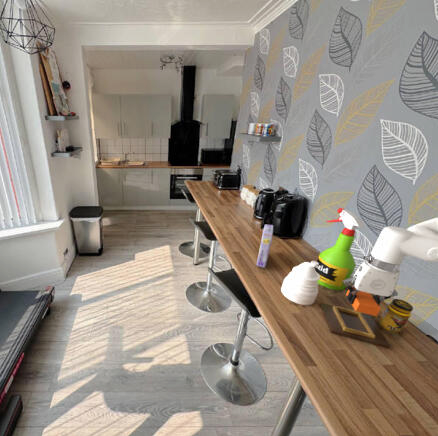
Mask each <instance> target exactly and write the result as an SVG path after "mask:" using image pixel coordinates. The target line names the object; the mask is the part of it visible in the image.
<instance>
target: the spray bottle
mask: <svg viewBox="0 0 438 436" xmlns="http://www.w3.org/2000/svg"><path fill="white" fill-rule="evenodd" d="M337 213H338V214H339V217H338V218H337V219H336V218H335V219H332V220H326V221H325V222H326V223H342V224H343V225H344V228H343V229H342V231H341V232H340V233H339V234H338V237H337V239H336V241H335V243H334V245H333V246H331V247H328V248H326V249H324V250H323V251H321V252H320V253H319V255H318V257H317V260H316V262H318V263H319V264H318V266H317V267H314V268H315V271H316V272H317V273H318V274H319V275H320V280H318V281H317V282H318V285H320V286H322V287H324V288H326V289H330V290H333V291H343V290H345V289H346V288H347V287H346V285H345V284H344V283H343V280H346V279H349V278H351V277H352V276H353V274H354V271H355V268H356V267H357V266H356V265H357V264H356V261H355V258H354V256H353V253H351V248H352V246H353V244H354V240H355V238H356V235H355V234H356V230H357V229H358V228H364V227H365V225H364V223H363V221H362V219H361V218H360V217H359V216H358V215H356V214H354V213H352V211H350V210H348V209H345V208H343V207H339V208H338V209H337Z"/></svg>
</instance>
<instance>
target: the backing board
mask: <svg viewBox="0 0 438 436" xmlns="http://www.w3.org/2000/svg"><path fill="white" fill-rule="evenodd" d="M319 307H320V310H321V312H322V315H323V317H324V320H325V322H326V325H327V327H328V330H329V331H330V334H334V335H338V336H341V337H345V338H348V339H353V340H355V341H360V342H363V343H366V344H367V343H368V344H371V345H375V346H378V347H381V348H386V349H390V348H391V345H390V343H389V341H388V340H387V338H386V337H385V335H384V334H383V332H382V330H381V329H380V328H379V326H378V324H377V323H376V322H375V319H374V318H373V317H372V315H369V314H365V313H361V312H357V311H355V309H350V308H345V307H341V306H338V305H332V304H328V303H323V302H319Z"/></svg>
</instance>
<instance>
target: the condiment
mask: <svg viewBox="0 0 438 436" xmlns="http://www.w3.org/2000/svg"><path fill="white" fill-rule="evenodd" d="M413 310H414V307H413V306H412V304H410V303H409V302H407V301H406V300H404V299H400V298H393V299H392V300H391V302H390V303H388V305H387V306H386V308H385V309H384V311H383V312H382V314H381V316H380V318H379V319H378V325H379V326H380V327H381V328H382V329H384V330H386V331H387V332H389V333H392V334H399V333H401V331H402V330H403V328H404V327H405V325H406V323H407V322H408V320H409V319H410V318H411V316H412V311H413Z"/></svg>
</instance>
